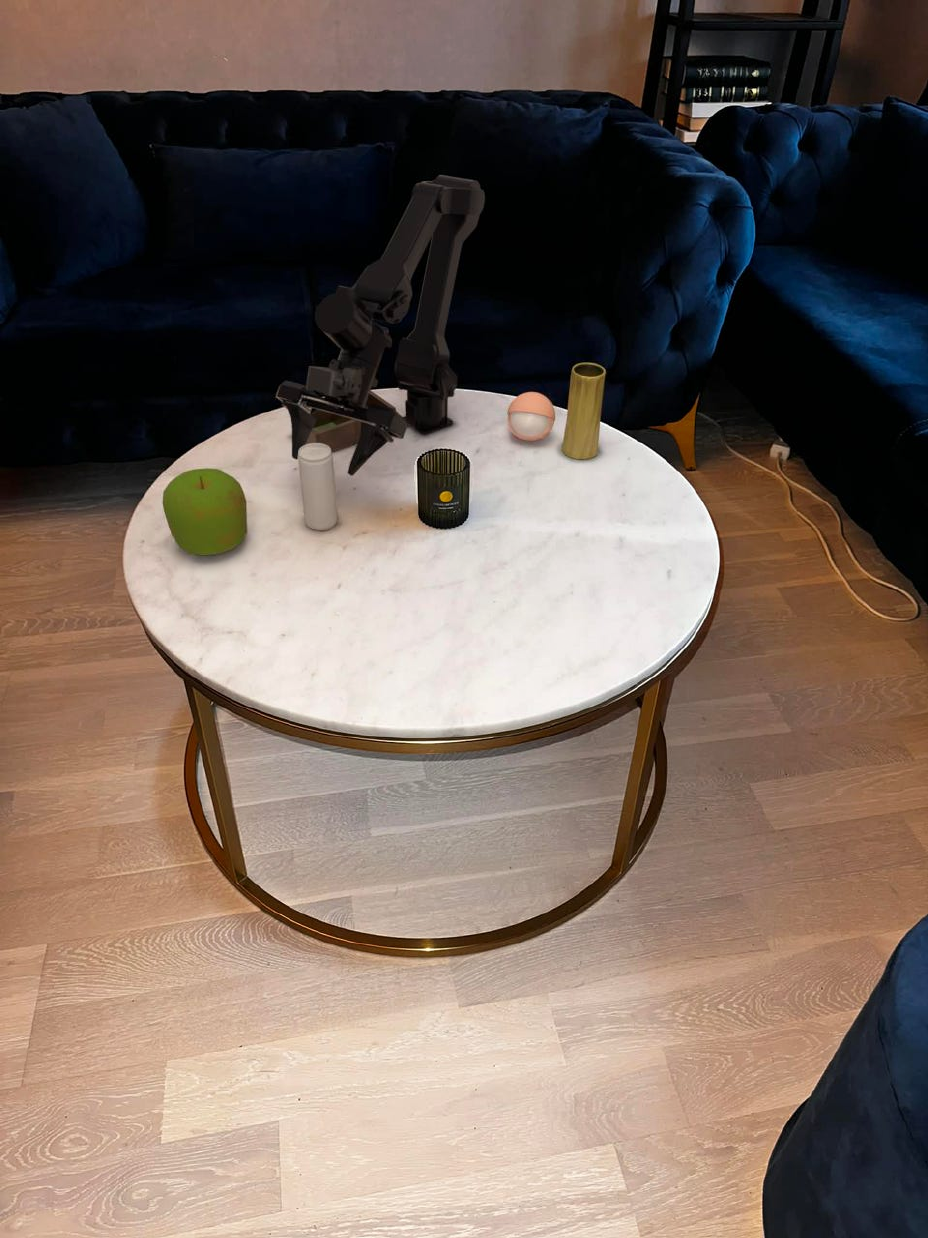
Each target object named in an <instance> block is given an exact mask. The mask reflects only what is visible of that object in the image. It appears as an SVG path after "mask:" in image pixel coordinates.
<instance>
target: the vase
mask: <svg viewBox="0 0 928 1238" xmlns="http://www.w3.org/2000/svg"><path fill="white" fill-rule="evenodd" d="M606 373H607V371H606V369H605V367H603V366H602V365H600V364H598V363H595V362H580V363H576V364H575V365H573V367H572V369H571V373H570V380H569V392H568V402H567V411H566V422H565V426H564V431H563V440H562V444H561V448H560V449H561V452H562V453H563V454H564V455H565V456H567V457H569V458H571V459H575V460H589V459H592V458H594V457H595V456H597V455H598V454H599V451H600V450H599V440H600V429H601V420H602V419H601V417H602V407H603V398H604V390H605V389H604V388H605V381H606Z"/></svg>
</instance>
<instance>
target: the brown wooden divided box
mask: <svg viewBox="0 0 928 1238" xmlns="http://www.w3.org/2000/svg"><path fill="white" fill-rule="evenodd" d="M372 403H374V404H378V405H382V406H385V407H389V408H393V409H395V410H396V411H397V407H395V406H394V405H393V404H392V403H390V402H389V401H387V400H385V399H384V398H382V397H381V396H380V395H379V394H377V393H376V392H374V391H372V390H370V392H369V395H368V398H367V401H366V404H365V405H366V406H367V407H369V406H370V405H371V404H372ZM331 407H332V406H331ZM332 408H336V409H338V408H337V407H334V406H333V407H332ZM346 411H349V412H352V413H353V411H352V410H348V409H346ZM312 416H313V417H314V418H316V422H315V424H314V426H313V428H312V431H311V433H310V435H309V437H308V440H307V442H306V444H310V443H322V444H325V445H327V446H329V447H330V448H331V452H332V453H333V452H336V451H337V452H338V451H340V450H342V449H345V448H349V447H351V446H353V445H357V443H358V441H359V438H360V430H361V422H362V421H358V420H354V419H351V418H347V417H343V416H339V415H336V414H332V413H328V412H325V411H321V410H318V412H316V413H314V414H313V415H312ZM363 423H366V422H363ZM366 424H369V423H366ZM306 444H305V445H306Z"/></svg>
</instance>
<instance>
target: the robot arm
mask: <svg viewBox="0 0 928 1238" xmlns="http://www.w3.org/2000/svg"><path fill="white" fill-rule="evenodd" d="M485 201H486V196H485V192H484V190H483V189H481V185H480V183H479V181H478V180H474V179H468V178H461V177H456V176H449V175H444V174H439V175H438V176H436V177H435V179H433V180H432V181H431V180H430V181H428V180H427V181H426V180H425V181H421V182H417V183H415V185H413V187H412V191H411V195H410V201H409V203H408V205H407V207H406V208H405V209H406V210H405V211H404V213H403V216H402V217H401V219H400V221H399V223H398V225H397V227H396V229H395V231H394V233H393V235H392V237H391V238H390V241H389V243H388V244H387V247H386V248H385V251H384V253H383V254H382V255H381V257H380V258H379V259H378V260H376V261H374V262H373V263H371V264H368V266H366V267H365V269H364V270H363V272H362V273H361V275H360V276H359V278H358V279H357V280H356V281H355V284H354V285H352V286H351V287H348V286H343V285H338V286H337V288H336V292H335V293H332V294H329V295H327V296H326V297H324V298H323V299H322V300H321V301H320V303H319V304H317V305H316V308H315V312H314V321H315V323H316V326H317V327H318V329H319V330H320V331H321V332H322V333H323V334H325V335H326V337H328V338H329V340H330V341H331V342H333V343H334V344H335V345H336V346H337V347H338V348H339V349H340V351H339V355H338V357H337V359H336V358H332V360H331V361H330V362H329V365H328V367H325V366H324V367H323V366H315V365H314V366H313V365H309V366H308V370H307V378H306V383H305V384H306V385H305V384H300V383H296V382H293V381H289V380H285V381H283V382H282V383H281V384H280V385H279V386H278V389H277V391H276V394H275V398H276V399H277V400H279V401H280V402H281V405H282V407H283V408H285V409H286V410H287V412H288V414H289V417H290V423H291V425H290V426H291V457H292V459H294V460H296V461H298V451H299V449H300V448H301V447H302V446H304V445H305V444H306V442H307V440H308V437H309V435H310V433H311V431H312V428H313V426H314V424H315V422H316V418H314V417H313V416H312V415H313V414H314V413H316V412H318V410H321V411H325V412H328V413H332V414H336V415H339V416H343V417H347V418H351V419H354V420H358V421H362V422H361V430H360V438H359V441H358V443H357V444H356V445H355V449H354V451H353V454H352V456H351V458H350V462H349V465H348V469H347V475H348V476H351V477H353V476H354V475H355V474H356V473H357V472H358V471H359V470H360V469H361V468H362V466H363V465H364V464H366V463H367V461H368V460H369V459H370V458H371V457H372V456H373V455H375V453H377V452H378V451H379V450H380V449H381V448H382V447H384V446H385V445H386V444H387V443H389V444H393V443H394V441H395V439H398V440H404V438H405V435H406V432H407V428H408V426H410V427H411V428H412V429H414V430H415V431H417V432H418V433H420V434H421V435H427V434H428V435H429V434H430V433H434V432H436V431H439V430H441V429H442V430H443V429H444V428H447V427H450V426H452V425H454V421H453V420H452V419H451V418H450V417H449V409H448V408H449V398H453V397H454V396H455V391H456V390H457V386H458V377H459V376H458V375H457V374H456V373H455V372H454V371H453V369H452V368H451V367H450V366H449V364H450V357H451V354H450V351H449V348H448V345H447V341H446V338H445V331H446V327H447V322H448V317H449V312H450V306H451V303H452V296H453V292H454V288H455V282H456V277H457V272H458V268H459V262H460V257H461V254H462V249H463V248H462V247H463V244H464V242H465V240H467V239H468V237H469V236H470V235H471V233H473V231H474V230H475V229H476V228H477V226H478V223H479V219H480V215H481V213H482V212H483V209H484V206H485ZM429 243H430V248H429V252H428V257H427V261H426V267H425V271H424V272H425V273H424V278H423V282H422V288H421V292H420V298H419V303H418V309H417V314H416V318H415V324H414V329H413V330H412V331H411V332H410V333H409V335H407V337H402V338H401V339H400V341H399V342H398V350H397V354H396V355H397V356H396V358H395V360H394V364H393V372H394V376H395V378H396V383H397V386H398V387H397V388H398V390H400V391H406V400H405V401H404V404H405V410H404V411H405V415H404V416H403V415H401V414H400V413H399V412H398V411H397V409H396V410H395V409H393V408H389V407H385V406H382V405H378V404H374V403H372V404H371V405H370V406H369V407H367V406H366V405H365V404H366V401H367V398H368V395H369V392H370V390H371V389H372V388H375V389H376V388H377V385H378V383H379V381H378V379H377V378H376V375H377V373H378V369H379V365H380V363H381V361H382V357H383V355H384V352H385V349H386V348H392V347H393V339H392V337H391V336H390V333H389V328H388V327H385V326H381V325H379V324H378V323H377V322H376V321H378V322H383V323H387V324H391V325H394V324H400V322H401V321H403V319H404V317H405V316H406V315H407V314H408V311H409V308H410V302H411V301H412V297H413V290H412V283H411V280H412V277H413V275H414V273H415V271H416V269H417V267H418V265H419V262H420V261H421V259H422V256H423V254H424V252H425V250H426V249H427V246H428V244H429ZM371 391H372V390H371ZM316 392H317V393H318V394H320V395H321V396H320V395H318V394H317V393H316ZM322 395H323V396H324V397H323V396H322ZM331 406H332V407H333V406H334V407H337V408H338V409H336V408H332V407H331ZM346 409H348V410H352V411H353V413H352V412H349V411H346ZM363 422H366V423H369V424H366V423H363Z"/></svg>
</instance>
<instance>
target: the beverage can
mask: <svg viewBox="0 0 928 1238" xmlns="http://www.w3.org/2000/svg"><path fill="white" fill-rule="evenodd" d="M297 463H298V472H299V481H300V490H301V498H302V499H301V500H302V507H303V516H304V517H303V518H304V523H305V525H306V526H307V527H308V528H310V529H312V530H314V531H327V530H330V529H332V528H333V527H335V525H336V524H337V523H338V520H339V515H338V503H337V502H338V501H337V493H336V492H337V491H336V479H335V468H334V467H335V466H334V456H333V452H331V448H330V447H329V446H327V445H325V444H322V443H310V444H306V445H304V446H302V447H301V448H300V449H299V451H298V459H297Z"/></svg>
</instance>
